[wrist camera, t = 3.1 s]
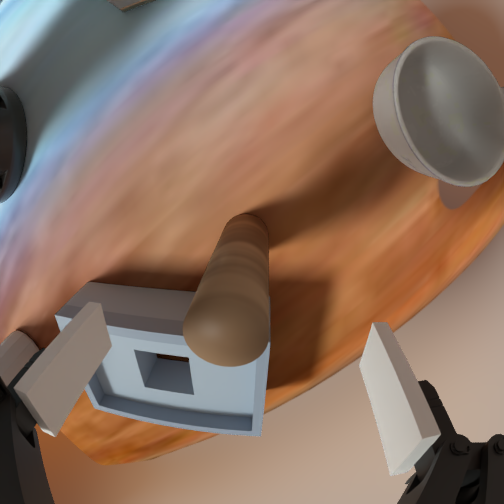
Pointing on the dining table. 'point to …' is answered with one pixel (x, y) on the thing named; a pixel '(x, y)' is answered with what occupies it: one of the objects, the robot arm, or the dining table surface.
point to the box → (166, 365)
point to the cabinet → (128, 4)
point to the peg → (233, 297)
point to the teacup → (442, 112)
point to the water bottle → (15, 355)
